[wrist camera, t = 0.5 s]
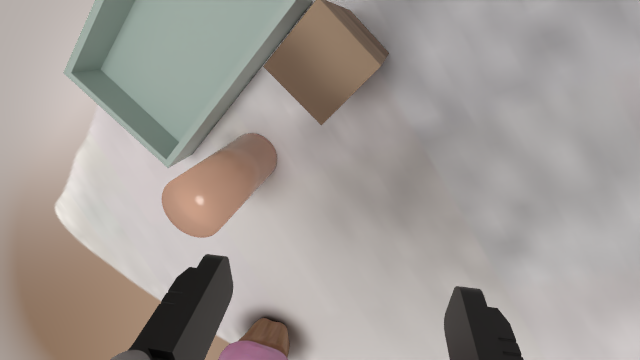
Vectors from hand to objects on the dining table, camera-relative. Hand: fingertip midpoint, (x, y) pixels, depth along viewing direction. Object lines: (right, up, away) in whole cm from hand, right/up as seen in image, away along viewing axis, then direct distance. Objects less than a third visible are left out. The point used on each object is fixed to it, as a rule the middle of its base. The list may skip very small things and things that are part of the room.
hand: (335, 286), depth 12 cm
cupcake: (-6, -16, +31) cm, 36 cm away
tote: (-12, +16, +18) cm, 27 cm away
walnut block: (+2, +14, +15) cm, 21 cm away
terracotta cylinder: (-7, +6, +21) cm, 23 cm away
